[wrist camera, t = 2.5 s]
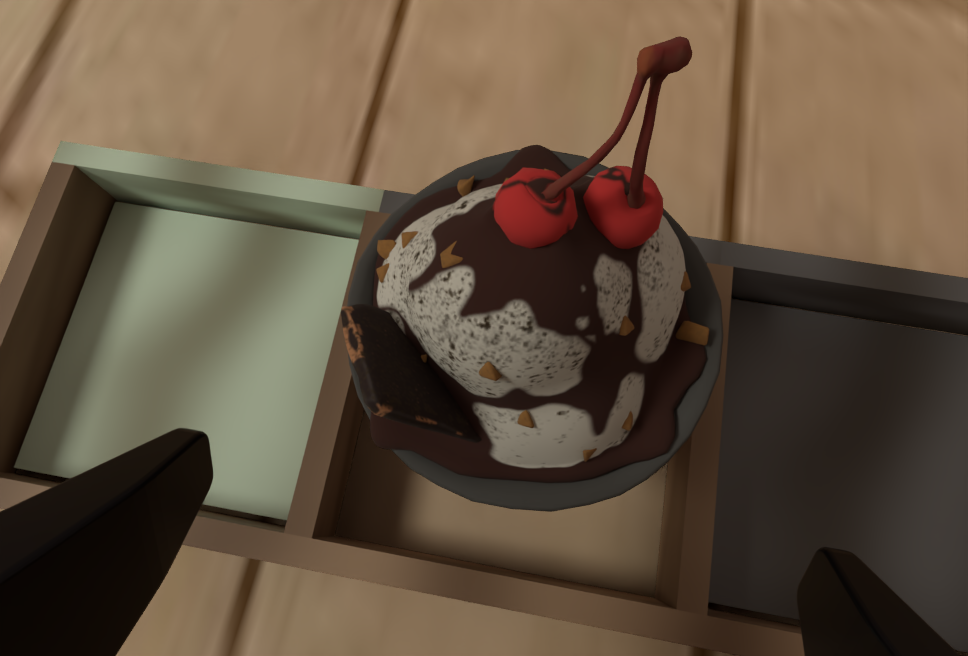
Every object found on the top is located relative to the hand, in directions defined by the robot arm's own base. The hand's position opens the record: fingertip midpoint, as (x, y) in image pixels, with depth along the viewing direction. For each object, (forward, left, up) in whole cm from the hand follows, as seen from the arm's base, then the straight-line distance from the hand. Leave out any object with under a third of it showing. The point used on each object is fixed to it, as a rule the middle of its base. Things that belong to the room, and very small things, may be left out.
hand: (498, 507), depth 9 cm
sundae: (+2, -3, -11) cm, 12 cm away
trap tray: (+2, -3, -11) cm, 12 cm away
